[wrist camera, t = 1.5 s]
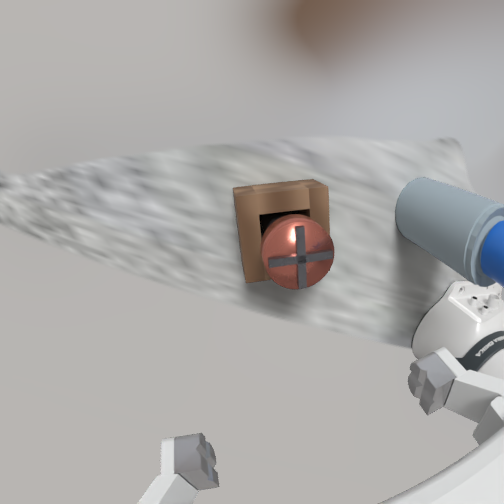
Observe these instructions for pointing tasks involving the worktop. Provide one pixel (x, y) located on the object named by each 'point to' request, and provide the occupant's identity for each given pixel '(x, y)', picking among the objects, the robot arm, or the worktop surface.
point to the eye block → (272, 201)
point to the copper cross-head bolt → (295, 249)
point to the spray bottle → (455, 228)
